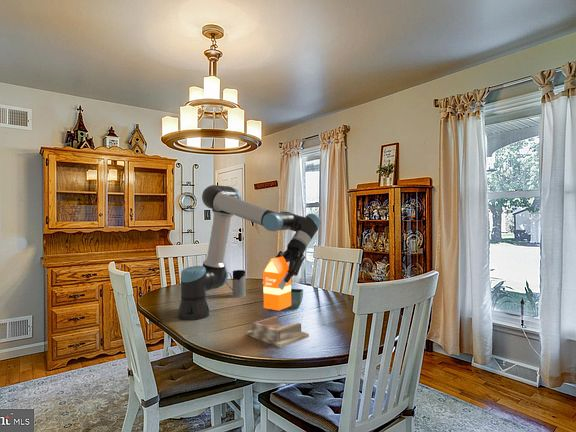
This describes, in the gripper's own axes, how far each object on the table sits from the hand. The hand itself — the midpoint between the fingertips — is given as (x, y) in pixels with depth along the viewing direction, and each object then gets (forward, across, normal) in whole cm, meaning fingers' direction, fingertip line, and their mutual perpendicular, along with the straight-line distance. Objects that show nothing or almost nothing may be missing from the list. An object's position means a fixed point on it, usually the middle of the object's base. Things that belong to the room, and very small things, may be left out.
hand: (271, 286), depth 139 cm
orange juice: (+4, 0, -9) cm, 10 cm away
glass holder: (-9, +70, -39) cm, 81 cm away
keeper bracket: (+12, 0, -17) cm, 21 cm away
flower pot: (-13, +25, -42) cm, 51 cm away
